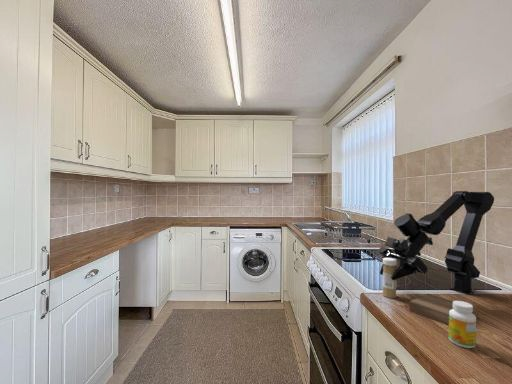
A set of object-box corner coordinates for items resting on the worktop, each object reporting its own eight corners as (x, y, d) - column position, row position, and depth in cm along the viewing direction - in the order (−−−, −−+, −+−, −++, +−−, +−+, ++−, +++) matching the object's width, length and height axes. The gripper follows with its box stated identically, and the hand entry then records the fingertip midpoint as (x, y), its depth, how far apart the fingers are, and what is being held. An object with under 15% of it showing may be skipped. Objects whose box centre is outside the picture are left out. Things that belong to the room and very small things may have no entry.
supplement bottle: (443, 336, 68) (443, 299, 68) (462, 336, 69) (463, 299, 69) (461, 349, 63) (461, 308, 63) (481, 348, 63) (482, 308, 63)
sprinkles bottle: (398, 296, 94) (399, 259, 94) (391, 299, 92) (392, 261, 92) (386, 292, 98) (387, 256, 98) (379, 295, 95) (380, 258, 95)
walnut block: (427, 302, 90) (427, 293, 90) (470, 316, 80) (471, 306, 80) (409, 310, 83) (409, 301, 83) (454, 327, 73) (454, 316, 73)
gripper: (382, 226, 105) (357, 255, 102) (420, 234, 86) (390, 269, 84) (399, 245, 106) (374, 274, 104) (440, 257, 88) (411, 292, 86)
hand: (386, 276), depth 94 cm, fingers open, 6 cm apart
